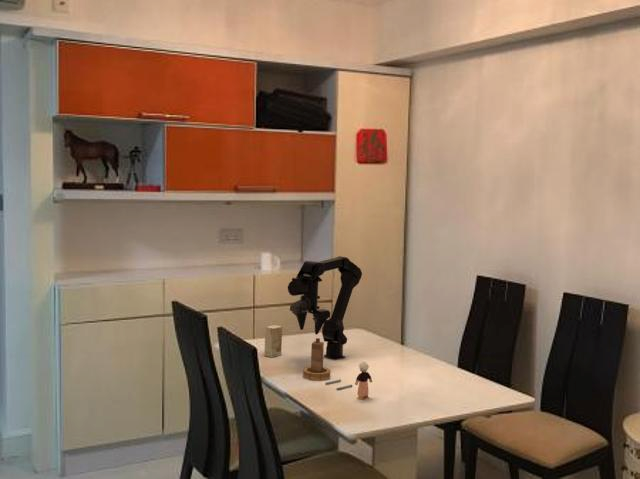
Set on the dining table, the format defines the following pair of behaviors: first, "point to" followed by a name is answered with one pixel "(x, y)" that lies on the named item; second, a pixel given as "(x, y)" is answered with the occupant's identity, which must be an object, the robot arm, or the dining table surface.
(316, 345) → the brown wooden peg
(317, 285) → the robot arm
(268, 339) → the skincare box
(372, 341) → the dining table surface
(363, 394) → the grandmother figurine
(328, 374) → the bead ring
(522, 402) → the dining table surface
